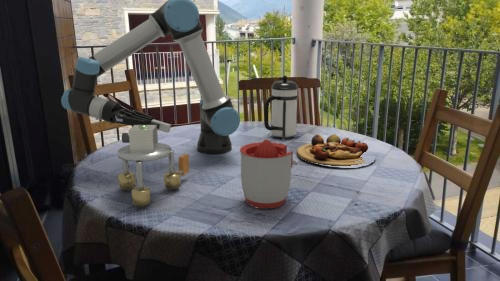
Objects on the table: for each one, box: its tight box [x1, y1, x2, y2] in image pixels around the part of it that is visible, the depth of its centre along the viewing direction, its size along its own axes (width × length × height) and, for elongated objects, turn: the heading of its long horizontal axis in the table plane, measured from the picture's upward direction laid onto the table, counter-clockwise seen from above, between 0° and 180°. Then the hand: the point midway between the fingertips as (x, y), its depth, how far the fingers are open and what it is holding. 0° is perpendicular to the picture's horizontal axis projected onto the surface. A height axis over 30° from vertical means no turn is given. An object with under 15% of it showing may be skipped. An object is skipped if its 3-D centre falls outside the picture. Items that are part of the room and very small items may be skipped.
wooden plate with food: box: [296, 133, 369, 166], centre depth 167 cm, size 32×32×8 cm
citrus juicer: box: [239, 139, 298, 209], centre depth 121 cm, size 16×17×20 cm
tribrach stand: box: [117, 125, 172, 209], centre depth 124 cm, size 18×19×23 cm
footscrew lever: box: [163, 149, 190, 190], centre depth 134 cm, size 13×5×13 cm, turn 162°
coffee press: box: [263, 75, 299, 140], centre depth 192 cm, size 17×16×30 cm
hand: (169, 128), depth 138 cm, fingers closed
